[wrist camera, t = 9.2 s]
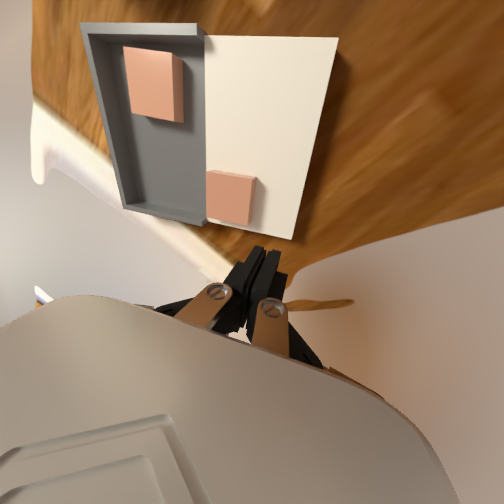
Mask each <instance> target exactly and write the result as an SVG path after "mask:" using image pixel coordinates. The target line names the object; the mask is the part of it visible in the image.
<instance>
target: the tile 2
mask: <svg viewBox="0 0 504 504" xmlns="http://www.w3.org/2000/svg"><path fill="white" fill-rule="evenodd" d="M255 186H256V177H255V176H249V175H242V174H236V173H230V172H224V171H218V170H210V171H206V217H207V218H212V219H216V220H221V221H226V222H230V223H235V224H239V225H244V226H248V225H249V224H250V223H251V221H252V213H253V204H254V195H255Z"/></svg>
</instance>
